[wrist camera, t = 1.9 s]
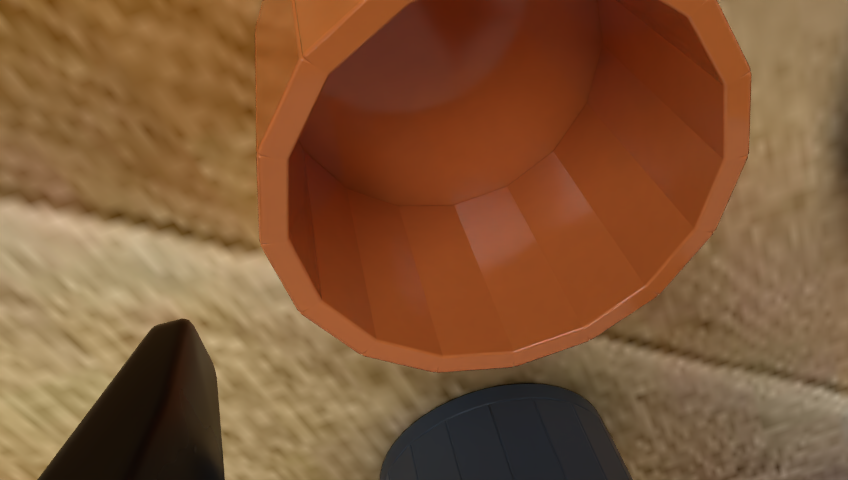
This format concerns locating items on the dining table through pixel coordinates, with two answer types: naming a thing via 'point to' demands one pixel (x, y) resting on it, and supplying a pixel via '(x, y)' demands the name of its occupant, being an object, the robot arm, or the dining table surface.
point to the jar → (508, 439)
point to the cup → (490, 166)
